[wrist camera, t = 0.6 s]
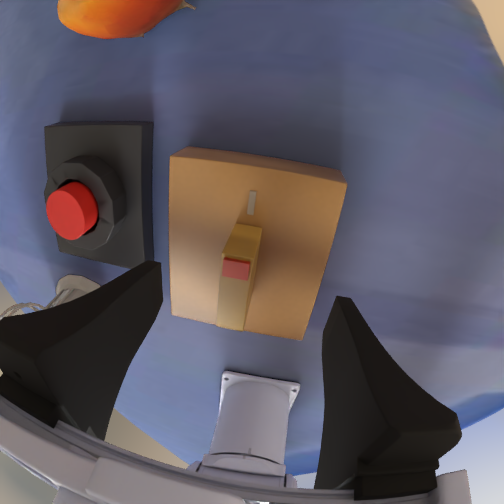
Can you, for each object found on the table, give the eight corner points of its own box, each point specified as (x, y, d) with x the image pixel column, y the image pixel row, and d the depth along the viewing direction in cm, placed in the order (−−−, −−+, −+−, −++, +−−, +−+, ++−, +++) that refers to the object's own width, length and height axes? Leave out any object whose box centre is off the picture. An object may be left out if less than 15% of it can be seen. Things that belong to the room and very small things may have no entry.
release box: (154, 261, 24) (135, 286, 21) (69, 242, 24) (47, 262, 21) (154, 121, 18) (127, 129, 15) (58, 122, 19) (28, 131, 16)
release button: (101, 232, 19) (87, 244, 18) (64, 225, 20) (50, 235, 18) (96, 183, 18) (81, 192, 16) (58, 179, 18) (42, 188, 16)
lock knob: (252, 295, 20) (242, 335, 17) (228, 290, 20) (215, 329, 17) (262, 227, 18) (253, 261, 14) (235, 222, 18) (220, 255, 14)
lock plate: (302, 314, 24) (302, 342, 22) (183, 292, 25) (170, 316, 22) (340, 170, 18) (348, 184, 15) (187, 145, 19) (168, 156, 16)
